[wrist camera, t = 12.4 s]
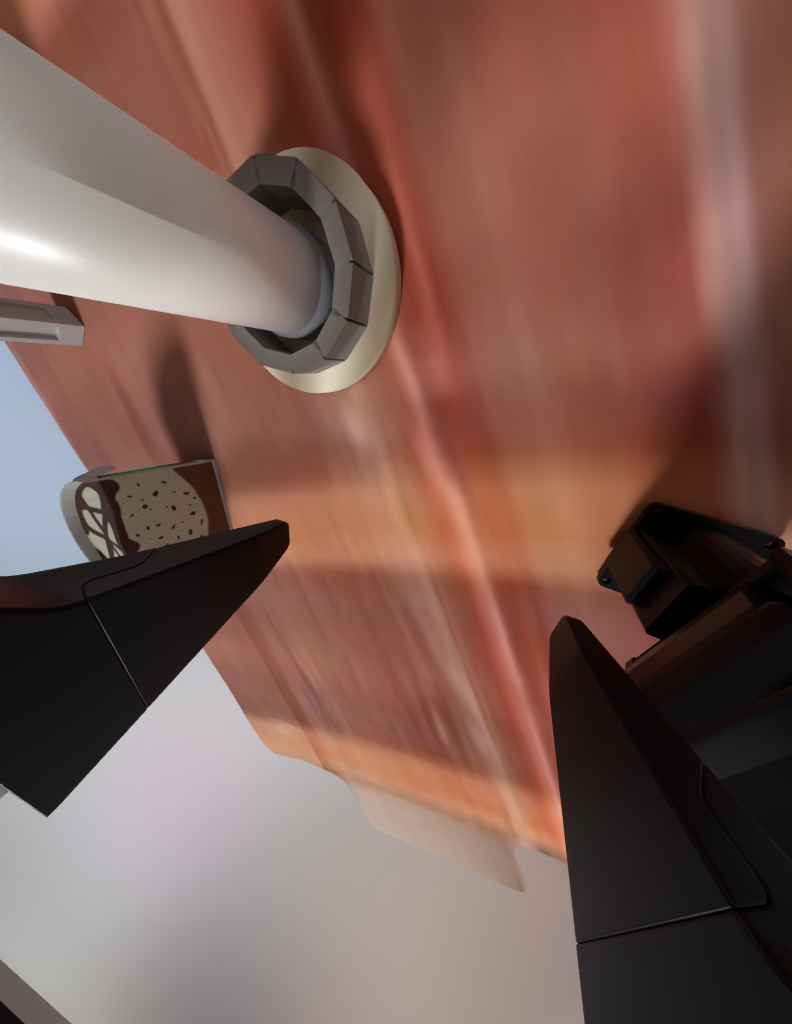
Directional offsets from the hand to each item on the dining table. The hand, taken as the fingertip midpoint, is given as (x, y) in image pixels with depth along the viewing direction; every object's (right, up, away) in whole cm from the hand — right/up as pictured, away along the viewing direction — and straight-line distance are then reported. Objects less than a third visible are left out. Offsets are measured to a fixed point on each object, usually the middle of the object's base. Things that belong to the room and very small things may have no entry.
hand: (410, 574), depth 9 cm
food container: (-21, +4, +23) cm, 31 cm away
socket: (-6, +16, +10) cm, 20 cm away
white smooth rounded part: (-6, +16, +9) cm, 19 cm away
